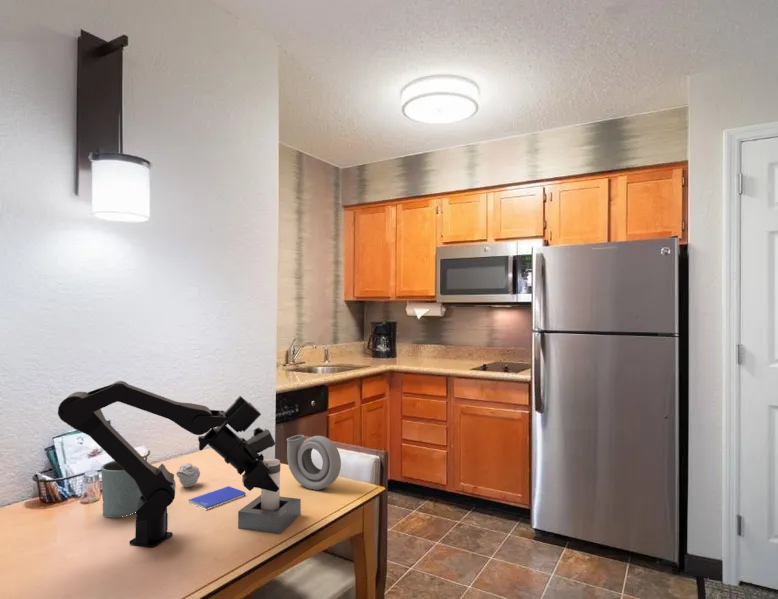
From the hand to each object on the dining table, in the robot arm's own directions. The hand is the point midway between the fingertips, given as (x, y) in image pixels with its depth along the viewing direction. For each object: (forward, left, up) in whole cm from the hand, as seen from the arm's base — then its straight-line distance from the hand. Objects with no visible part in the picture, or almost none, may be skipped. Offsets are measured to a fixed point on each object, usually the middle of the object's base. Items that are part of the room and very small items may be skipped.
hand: (276, 486), depth 122 cm
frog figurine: (+13, +35, -8) cm, 38 cm away
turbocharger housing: (+23, 0, -8) cm, 25 cm away
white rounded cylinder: (-1, +1, -7) cm, 7 cm away
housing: (-1, +1, -8) cm, 8 cm away
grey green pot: (-6, +40, -8) cm, 41 cm away
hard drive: (+8, +22, -9) cm, 25 cm away
